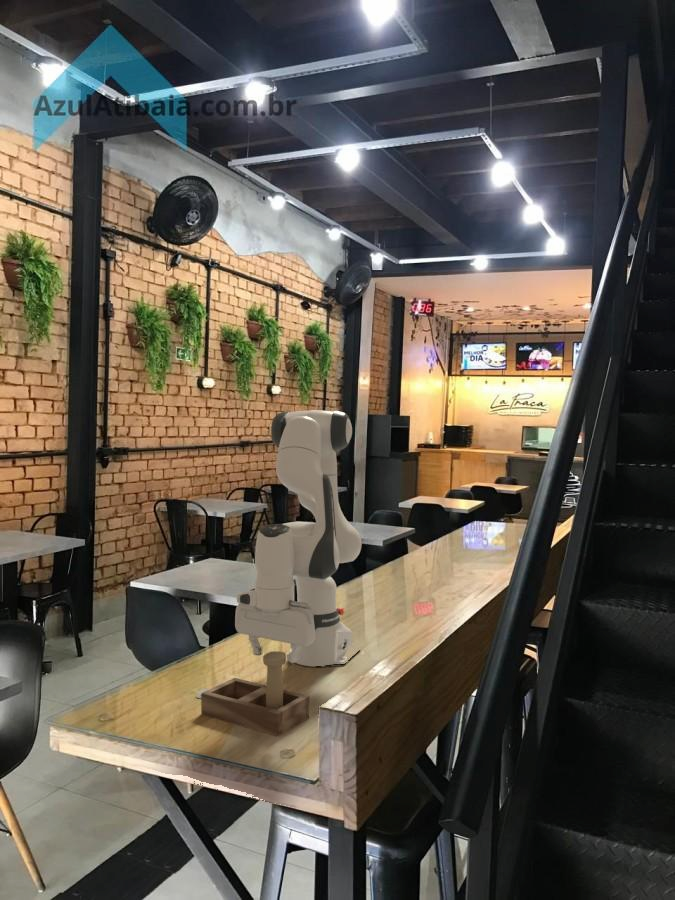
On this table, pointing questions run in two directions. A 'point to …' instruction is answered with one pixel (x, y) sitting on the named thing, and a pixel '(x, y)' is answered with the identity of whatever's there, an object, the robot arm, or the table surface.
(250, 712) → the divided box
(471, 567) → the table surface
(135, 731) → the table surface
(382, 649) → the table surface
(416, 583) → the table surface
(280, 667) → the handle
